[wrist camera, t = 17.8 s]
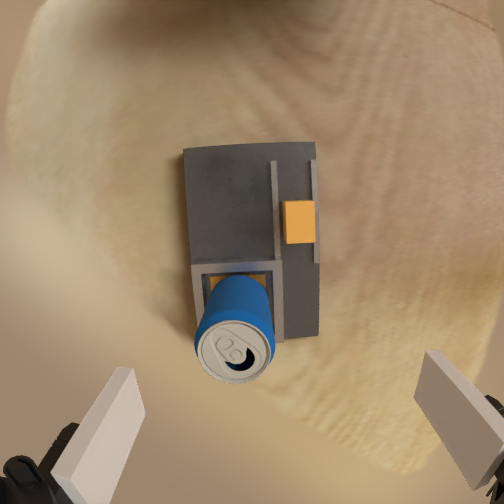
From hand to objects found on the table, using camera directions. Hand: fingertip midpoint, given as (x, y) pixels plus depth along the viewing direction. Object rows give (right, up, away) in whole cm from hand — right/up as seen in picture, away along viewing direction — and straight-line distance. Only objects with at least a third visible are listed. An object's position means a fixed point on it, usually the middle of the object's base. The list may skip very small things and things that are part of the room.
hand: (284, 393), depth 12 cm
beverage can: (-3, +1, +23) cm, 23 cm away
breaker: (+3, +9, +21) cm, 23 cm away
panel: (-1, +7, +23) cm, 24 cm away
